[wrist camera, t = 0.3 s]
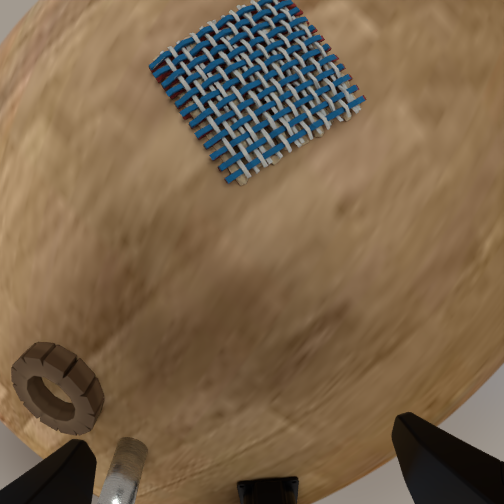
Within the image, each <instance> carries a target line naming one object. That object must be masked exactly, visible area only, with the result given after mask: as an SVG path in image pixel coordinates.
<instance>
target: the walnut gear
mask: <svg viewBox="0 0 504 504" xmlns="http://www.w3.org/2000/svg"><path fill="white" fill-rule="evenodd" d="M76 356H77V355H75V354H73V353H72V352H70V351H68V350H66V349H65V348H63V347H61V346H60V345H57V346H56V347H55V344H54V343H44V342H38V343H37V344H36V343H35V344H34V345H32V346H31V347H30V348H29V349H28V350H27V351H26V352H25V353H24V354H23V355H22V356H21V357H20V358H19V359H18V360H17V361H16V362H15V363H14V364H13V366H12V368H11V373H12V382H13V383H14V384H13V387H14V389H15V391H16V393H17V395H18V397H19V399H20V400H21V401H23V402H24V403H23V405H24V406H25V407H26V408H27V409H28V410H29V411H30V412H31V413H32V414H33V415H34V416H35V417H36V418H39V417H40V421H41V422H42V423H44V424H46V425H47V426H49V427H51V428H53V429H54V430H56V431H57V430H58V429H59V431H60V432H61V433H66V434H70V435H77V434H78V435H82V434H84V433H87V432H89V431H91V429H93V426H94V424H95V422H96V420H97V418H98V416H99V414H100V412H101V409H102V406H103V402H104V398H103V397H104V394H103V391H102V389H101V386H100V384H99V381H98V379H97V378H94V376H95V374H94V373H93V372H92V371H91V370H90V369H89V368H88V366H87V365H86V364H85V363H84V362H83V361H82V360H81V359H78V360H77V361H76ZM41 377H45V378H47V379H49V380H50V381H52V382H54V383H55V384H57V385H59V386H60V388H61V389H62V390H63V391H64V392H65V393H66V394H67V395H68V396H69V397H70V399H71V401H72V403H73V404H72V403H65V402H64V401H62V400H60V399H58V398H57V397H55V396H54V395H53V394H52V393H51V392H50V391H49V390H48V389H47V388H46V387H45V386H44V383H43V381H42V379H41Z"/></svg>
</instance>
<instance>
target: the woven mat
mask: <svg viewBox="0 0 504 504" xmlns="http://www.w3.org/2000/svg"><path fill="white" fill-rule="evenodd" d="M250 3H251V4H253V5H250V6H245V5H242V8H241V6H240V5H238V6H236V7H237V8H238V10H239V11H237V12H233V11H232V10H230V11H229V13H230V14H229V15H227V16H224V15H222V16H221V18H222V19H221V20H220V21H218V22H217V23H216V20H212V22H211V21H209V22H207V23H208V24H209V25H210V26H207V27H204V28H203V26H202V27H201V28H199V29H200V31H199V32H198V33H197V34H194V33H190V35H191V36H188V37H185V38H184V40H182V41H181V42H180V41H178V42H176V44H177V45H176V46H175V47H173V48H172V46H170V47H167V48H168V49H169V51H165V52H164V51H162V52H160V55H159V56H156V57H155V58H154V59H153V61H154V62H153V63H151V64H150V65H149V69H150V70H151V72H152V73H153V72H154V71H155V72H154V73H153V75H154V77H155V78H156V80H157V81H158V83H159V82H160V81H162V80H163V79H164V78H166V80H165V81H163V82H162V83H161V85H162V87H163V88H164V90H167V89H169V88H170V87H172V88H171V89H169V90H168V91H166V94H167V95H168V96H169V97H170V98H171V99H173V98H175V97H176V96H178V97H179V98H180V99H179V100H178V101H176V102H175V105H176V107H177V108H178V109H180V108H181V107H183V106H184V105H185V107H186V108H185V109H183V110H182V111H180V114H181V115H182V117H183V118H184V120H186V119H188V118H190V117H193V118H194V119H193V120H192V121H191V122H189V126H190V127H191V128H192V129H193V128H195V127H196V126H198V125H199V127H200V128H201V129H200V130H198V131H197V132H195V133H194V134H195V135H196V137H197V138H198V139H199V140H200V139H201V138H203V137H204V136H206V137H207V138H208V141H207V142H206V143H205V144H203V146H204V147H205V149H206V150H207V149H209V148H210V147H212V146H213V147H214V148H215V150H216V151H215V152H213V153H212V154H210V155H209V156H210V157H211V159H212V160H213V161H214V160H215V159H217V158H218V157H221V158H222V160H223V161H224V163H222V164H221V165H220V166H218V169H219V170H220V172H222V171H223V170H225V169H226V168H228V169H229V171H230V172H231V175H229V176H228V177H226V178H225V180H226V182H227V183H228V184H229V183H230V182H232V181H233V180H234V179H236V181H237V182H238V183H239V185H240V186H241V185H244V184H246V183H247V181H248V178H249V177H252V176H251V174H250V173H249V171H248V170H250V169H251V168H253V170H254V171H255V172H256V174H257V173H258V172H259V171H260V170H259V169H258V168H259V167H261V166H262V165H263V166H264V167H267V166H268V164H267V162H268V163H269V164H270V163H273V164H274V165H275V164H276V163H278V162H279V159H281V158H282V157H283V155H282V154H281V153H280V150H281V149H284V150H288V151H289V153H290V152H291V151H292V149H291V147H290V144H291V143H292V142H295V144H296V145H297V146H298V147H300V146H303V145H305V144H307V143H308V142H309V140H308V139H307V137H306V136H305V135H306V134H308V135H309V138H310V140H311V139H313V136H312V133H311V131H313V133H314V136H315V137H322V136H323V134H324V130H323V127H322V125H323V124H325V126H326V128H327V130H328V129H329V128H330V125H332V124H331V123H332V122H334V121H333V118H335V117H336V118H337V119H338V120H339V121H340V122H341V121H344V120H345V121H348V120H349V119H351V115H352V113H351V112H350V111H349V109H351V108H352V109H353V111H354V112H355V113H356V114H357V113H358V112H359V110H361V108H360V107H361V106H360V103H362V102H363V101H365V100H366V98H365V96H364V95H363V96H361V97H359V98H357V99H356V97H355V96H354V94H353V92H355V91H357V90H359V88H358V86H357V85H353V86H351V87H350V84H349V81H350V80H352V77H351V76H350V74H349V75H348V74H347V75H344V74H343V73H341V72H340V71H342V70H344V69H346V68H345V67H344V65H343V64H341V63H340V64H339V65H337V66H335V65H334V64H333V63H332V62H334V61H336V60H338V59H339V58H338V57H337V56H336V55H334V54H332V55H329V56H327V55H326V52H328V51H330V50H331V47H330V46H329V45H328V44H324V45H323V46H321V45H320V44H318V43H320V42H322V41H324V40H325V39H324V38H323V36H320V35H316V36H312V35H311V34H313V33H315V32H317V31H318V30H317V29H316V28H315V27H314V26H313V25H310V26H309V27H308V25H309V24H310V23H309V22H308V20H307V18H306V17H298V16H300V15H302V14H303V12H302V11H301V9H300V10H299V9H298V8H297V7H296V5H295V4H294V3H293V2H292V1H291V0H286V1H284V0H257V3H256V2H255V1H253V0H251V2H250ZM273 6H274V7H273ZM292 8H293V9H292ZM290 9H291V10H290ZM245 18H246V19H245ZM264 20H266V22H264ZM287 21H289V23H286V22H287ZM229 27H230V28H229ZM250 27H253V28H251V29H249V28H250ZM292 31H296V32H292ZM214 34H216V35H215V36H213V35H214ZM212 36H213V37H212ZM259 36H260V37H259ZM278 37H279V38H281V39H282V40H279V41H278V40H277V39H276V38H278ZM300 39H302V40H303V41H304V42H302V41H301V40H300ZM246 41H247V42H246ZM222 43H225V44H222ZM242 43H243V44H244V46H241V44H242ZM219 44H221V45H219ZM264 44H267V45H268V46H267V47H265V48H264V47H263V46H262V45H264ZM285 46H287V50H285V49H284V48H283V47H285ZM307 48H309V49H310V50H311V51H307ZM209 49H211V51H210V52H209V51H208V50H209ZM253 50H254V51H255V52H253ZM228 51H230V53H229V54H226V52H228ZM183 53H184V54H183ZM248 53H250V55H248ZM271 53H272V54H273V56H271V55H270V54H271ZM291 56H294V57H295V58H296V59H294V60H292V58H291ZM216 58H218V59H216ZM315 58H318V60H319V61H318V62H317V61H316V60H315ZM173 59H174V60H173ZM214 59H216V60H214ZM260 59H261V60H260ZM171 60H173V61H172V62H171ZM234 60H236V61H237V62H236V63H235V62H233V61H234ZM189 61H190V62H189ZM255 62H258V63H259V65H256V64H255ZM279 64H280V65H281V67H280V65H279ZM305 64H306V65H305ZM298 66H301V67H302V69H301V70H300V69H299V68H298ZM180 67H182V68H180ZM222 67H224V68H225V70H224V71H223V69H222ZM322 67H324V69H325V70H326V71H324V72H322V69H321V68H322ZM178 68H180V69H178ZM201 68H202V69H203V70H202V69H201ZM157 69H158V70H157ZM177 69H178V70H177ZM269 69H270V72H268V70H269ZM156 70H157V71H156ZM196 70H197V71H198V72H197V71H196ZM243 70H244V73H242V71H243ZM262 72H264V73H265V75H263V73H262ZM285 73H286V74H287V76H288V77H285V75H284V74H285ZM306 75H308V76H309V77H310V78H311V79H310V78H309V77H307V76H306ZM186 76H188V77H187V78H186V79H185V80H184V78H185V77H186ZM208 77H209V78H208ZM232 77H233V79H231V80H229V79H230V78H232ZM329 77H331V79H332V80H333V82H331V81H330V80H328V79H327V78H329ZM248 79H250V81H251V83H248V82H247V80H248ZM275 79H276V80H275ZM270 81H271V82H272V83H273V84H274V85H273V84H272V83H271V82H270ZM296 81H297V82H296ZM291 83H292V84H293V85H294V86H296V87H295V88H293V87H292V85H291ZM215 85H216V87H217V88H218V89H217V90H216V89H215V88H214V86H215ZM195 86H196V87H195ZM236 86H239V88H240V90H239V91H238V90H237V89H236V88H235V87H236ZM315 86H316V88H317V90H316V88H315ZM193 87H194V88H193ZM260 87H261V88H262V89H261V88H260ZM337 87H338V88H339V89H340V90H341V91H342V92H340V93H338V94H337V92H336V89H335V88H337ZM191 88H192V89H191ZM210 89H211V90H210ZM282 89H283V90H284V92H285V93H284V92H283V90H282ZM254 90H257V91H258V92H260V93H258V94H256V93H255V92H254ZM211 91H212V92H211ZM300 93H301V94H302V95H303V96H304V98H302V99H301V98H300V97H299V95H298V94H300ZM199 95H202V96H203V97H201V98H200V99H198V98H197V97H198V96H199ZM222 95H223V97H224V98H223V99H222V97H221V96H222ZM245 96H246V97H247V99H248V100H245V101H244V99H243V97H245ZM320 96H322V97H323V98H324V99H325V100H326V101H324V102H322V101H321V100H320V98H319V97H320ZM344 97H346V99H347V102H348V104H345V103H344V102H343V101H342V100H341V99H342V98H344ZM269 98H270V99H269ZM264 99H265V100H266V102H267V103H266V104H263V103H262V100H264ZM289 99H290V100H291V101H290V100H289ZM284 101H285V102H286V103H287V104H288V105H289V106H288V107H286V106H285V104H284V103H283V102H284ZM307 103H309V105H310V106H311V107H312V108H311V109H310V110H308V108H307V107H306V105H305V104H307ZM207 105H209V106H210V108H207V109H205V107H206V106H207ZM251 106H253V107H254V109H255V111H254V112H253V111H252V110H251V109H250V107H251ZM328 106H330V109H331V111H332V112H331V113H330V114H329V113H328V111H327V109H326V107H328ZM228 107H231V108H232V110H231V111H230V110H229V108H228ZM270 109H272V110H273V112H274V113H275V114H274V115H273V116H271V114H270V113H269V110H270ZM296 109H297V110H296ZM277 110H278V111H277ZM297 111H298V112H299V114H300V115H299V114H298V112H297ZM291 112H293V113H294V115H295V118H293V116H292V115H291ZM248 113H249V114H248ZM315 113H316V114H317V115H318V116H319V117H320V118H321V119H319V120H318V119H317V118H316V117H315V116H314V114H315ZM213 115H216V116H217V117H218V118H216V119H215V120H213V119H212V116H213ZM339 115H340V116H339ZM235 116H237V117H238V118H239V120H238V121H237V119H236V118H235ZM259 116H260V117H261V119H262V120H263V121H262V122H259V120H258V119H257V117H259ZM343 119H344V120H343ZM253 120H254V121H253ZM278 120H280V121H281V122H282V123H283V124H284V125H282V126H281V125H280V124H279V123H278V122H277V121H278ZM303 120H304V121H305V122H306V123H307V124H308V125H309V126H307V125H306V124H305V123H304V121H303ZM208 121H209V122H208ZM298 123H300V124H301V125H302V126H303V128H304V129H302V130H301V128H300V126H299V125H298ZM221 125H223V126H224V128H225V129H224V130H222V131H220V129H219V128H218V127H219V126H221ZM242 126H244V127H245V128H246V129H247V130H248V131H246V132H245V130H244V129H243V127H242ZM266 127H267V128H268V129H269V130H270V131H271V132H270V133H269V134H268V133H267V132H266V131H265V129H264V128H266ZM287 130H288V132H289V134H290V137H289V138H287V136H286V134H285V131H287ZM215 131H216V132H215ZM228 135H230V136H231V138H232V139H233V140H231V141H230V142H228V141H227V139H226V138H225V137H227V136H228ZM250 137H252V138H253V140H254V141H255V142H254V143H253V142H252V140H251V139H250ZM274 138H276V140H277V142H278V143H279V144H277V145H276V146H275V144H274V142H273V141H272V139H274ZM222 141H223V142H222ZM224 144H225V145H224ZM236 146H238V148H239V149H240V152H239V153H237V154H236V152H235V151H234V149H233V148H235V147H236ZM257 148H259V149H260V151H261V152H262V154H261V153H260V152H259V150H258V149H257ZM254 152H255V153H254ZM230 153H231V154H230ZM256 155H257V156H258V157H257V156H256ZM232 156H233V157H232ZM244 156H245V158H246V159H247V161H248V162H249V163H247V164H246V165H244V164H243V162H242V161H241V160H240V159H241V158H243V157H244ZM265 159H266V160H267V162H266V161H265ZM261 163H262V164H261Z"/></svg>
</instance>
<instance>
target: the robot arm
mask: <svg viewBox="0 0 504 504" xmlns="http://www.w3.org/2000/svg"><path fill="white" fill-rule="evenodd" d="M392 442H393V445H394V448H395V451H396V454H397V458H398V461H399V464H400V467H401V471H402V474H403V477H404V480H405V483H406V485H407V487H408V490H409V492H410V494H411V496H412V498H413V500H414V503H415V504H504V462H503V461H501V462H500V460H499V459H497V458H495V457H493V456H491V455H489V454H487V453H485V452H483V451H481V450H479V449H477V448H475V447H473V446H471V445H470V444H468V443H466V442H464V441H462V440H460V439H458V438H456V437H455V436H453V435H451V434H449V433H447V432H445V431H444V430H442V429H440V428H438V427H436V426H435V425H433V424H431V423H429V422H428V421H426V420H424V419H422V418H420V417H419V416H417V415H415V414H413V413H412V412H406V413H403V414H400V415H397V416H396V418H395V422H394V426H393V430H392ZM96 464H97V461H96V457H95V455H94V454H93V452H92V451H91V449H90V447H89V446H88V444H87V443H86V442H85V441H84V440H79V439H72V440H70V441H69V442H67V443H66V444H65V445H63V446H62V447H61V448H59V449H58V450H56V451H55V452H54V453H52V454H51V455H50V456H48V457H47V458H45V459H44V460H43V461H41V462H40V463H38V464H37V465H36V466H35V467H33V468H31V469H30V470H29V471H27V472H26V473H24V474H23V475H21V476H20V477H19V478H18V479H16V480H14V481H13V482H11V483H10V484H9V485H7V486H6V487H4V488H3V489H1V490H0V504H91V502H92V495H93V487H94V479H95V471H96ZM298 485H299V480H298V478H297V477H292V478H283V479H273V480H261V481H245V482H238V483H237V488H238V493H239V497H240V502H241V504H297V496H298Z"/></svg>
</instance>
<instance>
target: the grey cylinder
mask: <svg viewBox="0 0 504 504" xmlns="http://www.w3.org/2000/svg"><path fill="white" fill-rule="evenodd" d="M147 452H148V449H147V447H146V446H145V445H144V444H143V443H142V442H140V441H139V440H136V439H134V438H128V437H125V438H122V439H120V441H119V443H118V446H117V448H116V451H115V454H114V457H113V460H112V462H111V465H110V468H109V471H108V474H107V476H106V479H105V482H104V485H103V488H102V491H101V494H100V497H99V500H98V504H134V503H135V499H136V495H137V491H138V487H139V483H140V479H141V475H142V471H143V467H144V463H145V460H146V456H147Z"/></svg>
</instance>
